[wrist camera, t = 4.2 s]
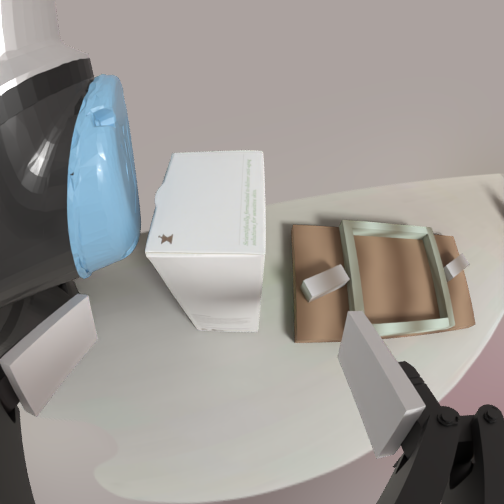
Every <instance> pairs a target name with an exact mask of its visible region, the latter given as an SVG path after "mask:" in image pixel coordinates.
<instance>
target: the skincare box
mask: <svg viewBox="0 0 504 504" xmlns="http://www.w3.org/2000/svg"><path fill="white" fill-rule="evenodd" d="M264 179H265V178H264V159H263V152H262V151H251V150H250V151H249V150H246V151H245V150H241V151H240V150H238V151H211V152H184V153H173V154H172V156H171V160H170V162H169V165H168V168H167V171H166V174H165V177H164V180H163V183H162V185H161V186H160V187H159V189H158V190H157V192H156V195H155V205H156V207H155V211H154V215H153V218H152V222H151V226H150V230H149V234H148V239H147V243H146V248H145V254H146V257H147V258H148V259H149V260H150V261H151V263H152V264H153V266H154V267H155V269H156V270H157V272H158V273H159V275H160V276H161V278H162V279H163V281H164V282H165V284H166V285H167V287H168V288H169V290H170V291H171V293H172V294H173V296H174V297H175V298H176V300H177V301H178V303H179V304H180V306H181V307H182V309H183V310H184V311H185V313H186V314H187V316H188V317H189V318H190V320H191V321H192V323H193V324H194V326H195V327H196V328H197V330H202V331H221V332H258V328H259V315H260V305H261V293H262V283H263V272H264V261H265V247H266V213H265V180H264Z"/></svg>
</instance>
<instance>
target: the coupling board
mask: <svg viewBox="0 0 504 504" xmlns="http://www.w3.org/2000/svg"><path fill="white" fill-rule="evenodd" d="M291 237H292V259H293V287H294V333H295V343H313V342H341V340H342V336H343V332H344V327H345V323H346V318H347V313H348V311H363V313H364V314H365V315H366V317H367V318H368V320H369V321H370V322H371V324H372V325H373V327H374V328H375V330H376V331H377V332H378V334H379V335H380V337H381V338H382V339H388V338H398V337H408V336H416V335H424V334H432V333H439V332H446V331H452V330H458V329H464V328H469V327H471V326H473V325H475V319H474V313H473V308H472V303H471V298H470V294H469V290H468V285H467V281H466V277H465V274H464V270H463V269H465V268H466V267H467V266H468V265H469V263H468V261H467V260H466V258H465V256H464V255H463V253H462V254H461V255H459V253H458V249H457V246H456V243H455V240H454V237H453V236H444V235H434V234H433V231H432V228H430V227H420V226H411V225H400V224H389V223H378V222H366V221H353V220H342V222H341V224H340V226H339V227H327V226H310V225H293V227H292V231H291Z"/></svg>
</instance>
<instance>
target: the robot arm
mask: <svg viewBox="0 0 504 504" xmlns="http://www.w3.org/2000/svg"><path fill="white" fill-rule="evenodd" d="M140 230H141V216H140V205H139V197H138V189H137V180H136V172H135V165H134V157H133V150H132V143H131V136H130V129H129V121H128V115H127V109H126V104H125V101H124V96H123V88H122V84H121V82H120V80H119V78H118V77H117V76H114V75H105V74H101V75H100V76H97V77H95V78H94V75H93V71H92V66H91V62H90V58H89V55H88V54H87V53H85V52H83V51H80V50H78V49H75V48H73V47H71V46H68V45H65V44H64V43H63V41H62V40H61V38H60V32H59V26H58V19H57V11H56V2H55V0H0V504H35V501H34V498H33V494H32V491H31V486H30V482H29V478H28V473H27V468H26V463H25V458H24V452H23V451H24V450H23V444H22V435H21V425H20V411H19V408H18V406H17V404H18V403H19V401H20V403H21V404H22V406H23V408H24V409H25V411H27V412H28V413H30V414H32V415H34V416H36V417H37V416H38V415H39V413H40V412H41V411H42V409H43V408H44V407H45V405H46V404H47V403H48V401H49V400H50V399H51V397H52V396H53V395H54V393H55V392H56V391H57V389H58V388H59V387H60V386H61V384H62V383H63V382H64V380H65V379H66V378H67V377H68V375H69V374H70V373H71V372H72V370H73V369H74V368H75V367H76V365H77V364H78V363H79V362H80V360H81V359H82V358H83V357H84V356H85V354H86V353H87V352H88V351H89V350H90V348H91V347H92V346H93V345H94V344H95V342H96V341H97V340H98V336H97V332H96V328H95V324H94V319H93V315H92V310H91V305H90V300H89V295H84V294H79V293H78V290H77V288H76V286H75V284H74V282H73V281H72V280H73V279H76V278H79V277H81V278H83V279H84V278H88V277H89V276H91V274H92V272H93V271H96V270H98V269H101V268H103V267H105V266H108V265H110V264H112V263H115V262H117V261H120V260H122V259H124V258H125V257H127V256H128V255H129V254H131V253H132V251H133V250H134V249H135V247H136V245H137V243H138V241H139V237H140ZM338 359H339V362H340V364H341V367H342V369H343V372H344V374H345V377H346V379H347V382H348V384H349V387H350V389H351V392H352V394H353V397H354V399H355V402H356V405H357V407H358V410H359V413H360V415H361V418H362V420H363V423H364V426H365V428H366V431H367V434H368V437H369V439H370V442H371V445H372V448H373V450H374V453H375V456H376V458H381V457H385V456H389V455H393V454H395V453H396V451H397V450H398V449H399V447H400V446H402V449H403V451H404V453H403V454H402V456H401V457H400V458H399V460H398V461H397V462H396V463H395V465H394V466H393V467H394V468H395V467H396V468H395V470H394V472H393V474H392V476H391V478H390V480H389V482H388V484H387V486H386V487H385V489H384V491H383V493H382V495H381V496H380V498H379V500H378V502H377V503H376V504H440V503H441V504H504V418H503V415H502V413H501V411H500V410H499V409H498V408H497V407H495V406H493V405H483V406H481V407H480V408H479V409H478V411H477V413H476V414H475V415H469V416H468V415H467V416H460V415H459V413H458V412H457V411H455V410H454V409H452V408H450V407H446V406H440V404H439V403H438V401H437V400H436V398H435V397H434V395H433V394H432V392H431V391H430V389H429V388H428V387H427V385H426V384H424V381H423V379H422V378H421V377H420V375H419V374H418V372H417V371H416V369H415V368H414V367H413V366H411V365H410V364H409V363H407V362H406V361H403V362H397V360H396V359H395V357H394V356H393V354H392V353H391V351H390V350H389V348H388V347H387V345H386V344H385V342H384V341H383V340H382V338H381V337H380V335H379V334H378V332H377V331H376V330H375V328H374V327H373V325H372V324H371V322H370V321H369V320H368V318H367V317H366V315H365V314H364V313H363V311H348V313H347V318H346V323H345V327H344V332H343V336H342V340H341V345H340V349H339V353H338ZM441 500H442V501H441Z"/></svg>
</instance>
